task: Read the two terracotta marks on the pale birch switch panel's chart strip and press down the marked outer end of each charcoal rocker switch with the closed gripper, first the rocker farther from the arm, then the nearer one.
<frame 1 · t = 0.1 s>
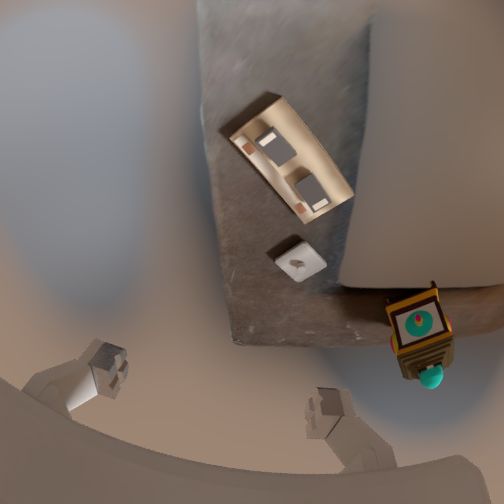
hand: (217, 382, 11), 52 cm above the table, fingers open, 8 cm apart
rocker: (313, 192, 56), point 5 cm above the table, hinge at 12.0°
light switch: (300, 256, 73), on the table
decorative lantern: (412, 304, 80), on the table
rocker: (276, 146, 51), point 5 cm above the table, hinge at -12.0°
switch panel: (295, 160, 57), on the table
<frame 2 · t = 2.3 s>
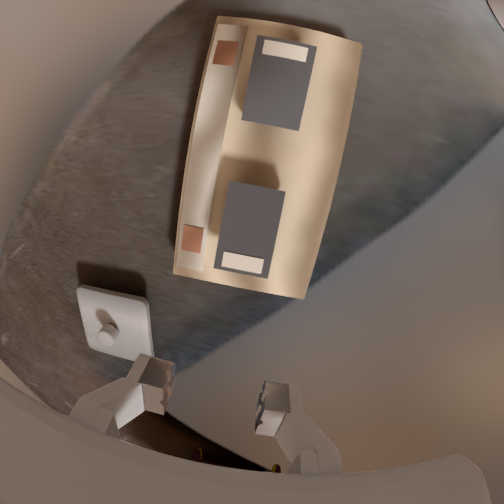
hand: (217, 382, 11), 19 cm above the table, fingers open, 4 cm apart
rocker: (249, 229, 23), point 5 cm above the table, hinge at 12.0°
light switch: (122, 315, 34), on the table
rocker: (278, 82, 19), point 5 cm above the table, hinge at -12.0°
switch panel: (264, 154, 26), on the table
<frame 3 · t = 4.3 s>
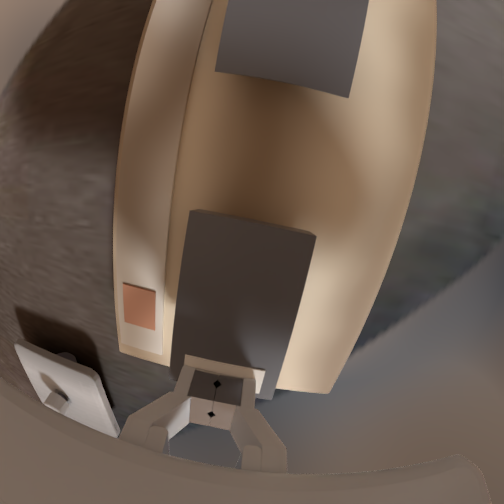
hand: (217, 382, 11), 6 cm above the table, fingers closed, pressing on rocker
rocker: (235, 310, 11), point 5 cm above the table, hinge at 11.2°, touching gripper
light switch: (77, 375, 22), on the table
switch panel: (268, 149, 14), on the table
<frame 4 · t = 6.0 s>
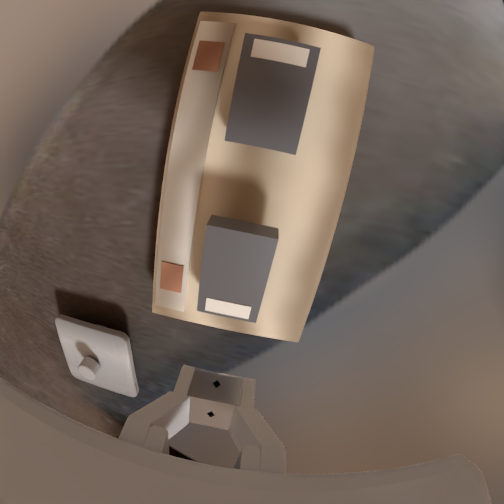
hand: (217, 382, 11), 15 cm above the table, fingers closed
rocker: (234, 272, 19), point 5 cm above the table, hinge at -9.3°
light switch: (104, 345, 30), on the table
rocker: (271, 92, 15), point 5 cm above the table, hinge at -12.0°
switch panel: (255, 177, 22), on the table
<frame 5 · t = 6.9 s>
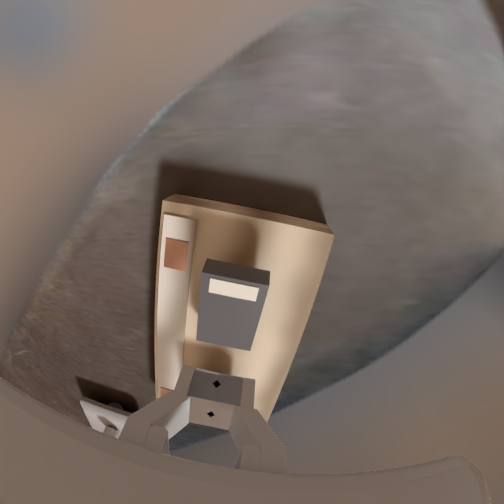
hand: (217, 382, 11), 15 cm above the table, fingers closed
light switch: (119, 414, 35), on the table
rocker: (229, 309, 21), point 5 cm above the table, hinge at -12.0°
switch panel: (226, 331, 28), on the table
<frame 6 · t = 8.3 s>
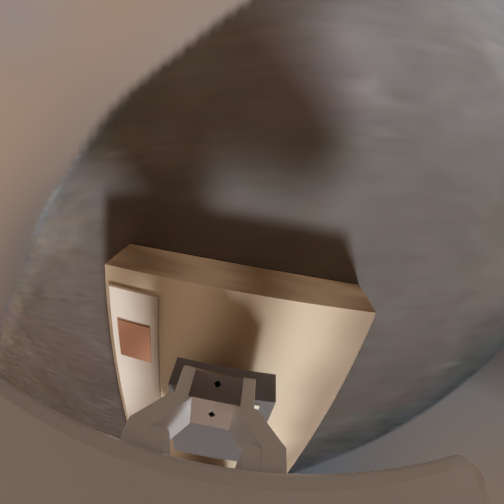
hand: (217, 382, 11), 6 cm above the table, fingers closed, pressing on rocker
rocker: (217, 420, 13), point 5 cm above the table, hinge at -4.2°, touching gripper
switch panel: (218, 410, 20), on the table
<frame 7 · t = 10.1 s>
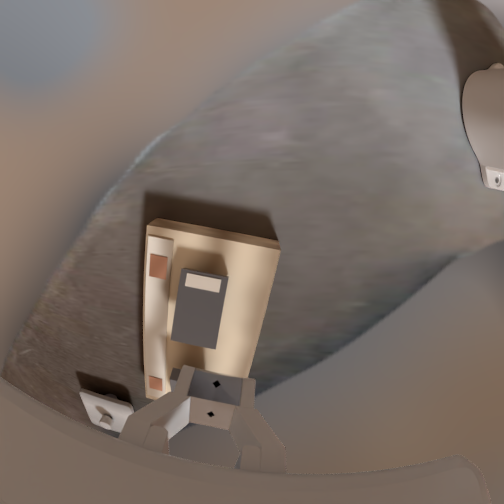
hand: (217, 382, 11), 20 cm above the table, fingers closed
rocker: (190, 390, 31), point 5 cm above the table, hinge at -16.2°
light switch: (114, 404, 40), on the table
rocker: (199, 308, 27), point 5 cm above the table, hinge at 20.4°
switch panel: (201, 327, 34), on the table
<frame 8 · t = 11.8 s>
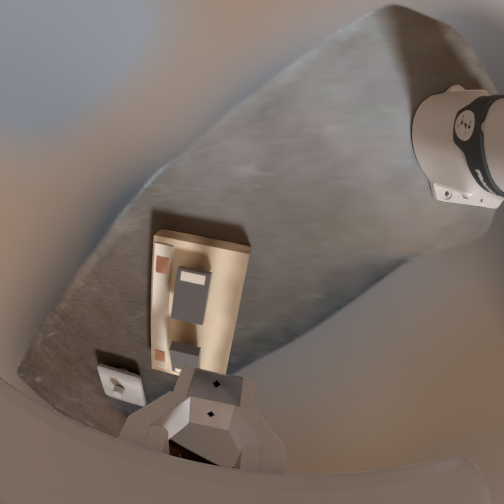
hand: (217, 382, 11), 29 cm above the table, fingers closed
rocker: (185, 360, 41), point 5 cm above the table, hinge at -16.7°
light switch: (125, 378, 52), on the table
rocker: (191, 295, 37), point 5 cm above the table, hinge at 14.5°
switch panel: (195, 311, 44), on the table
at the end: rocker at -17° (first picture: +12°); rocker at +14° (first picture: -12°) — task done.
